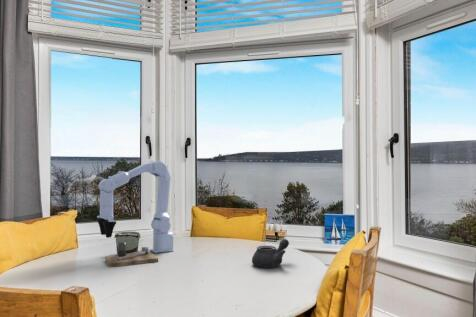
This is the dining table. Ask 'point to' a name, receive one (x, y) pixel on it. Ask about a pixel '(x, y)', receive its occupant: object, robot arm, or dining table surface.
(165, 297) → the dining table surface
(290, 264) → the dining table surface
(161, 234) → the robot arm
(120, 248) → the lever
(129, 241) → the food container
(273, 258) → the teapot
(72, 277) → the dining table surface
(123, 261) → the walnut board
